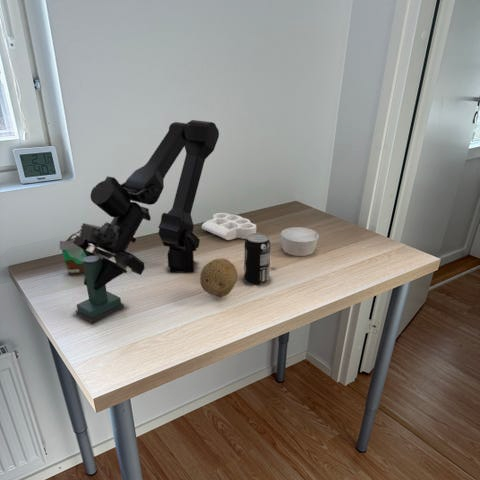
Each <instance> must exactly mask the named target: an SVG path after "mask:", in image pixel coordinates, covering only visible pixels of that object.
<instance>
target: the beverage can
mask: <svg viewBox="0 0 480 480" xmlns="http://www.w3.org/2000/svg"><path fill="white" fill-rule="evenodd" d="M246 238H247V239H245V241H244V255H243V256H244V259H243V260H244V261H243V262H244V264H243V279H244V280H245V281H246V282H247V283H249V284H251V285H255V286H256V285H263V284H265V283H267V282H268V281H269V279H270V270H271V269H270V268H271V267H270V266H271V265H270V264H271V245H272V243H271V241H270V236H269V235H268V234H266V233H261V232H256V233H252V234H249V235H247V237H246Z"/></svg>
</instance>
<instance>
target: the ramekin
mask: <svg viewBox="0 0 480 480" xmlns="http://www.w3.org/2000/svg"><path fill="white" fill-rule="evenodd" d="M280 238H281V246H282V250H283V251H284V253H285V254H287V255H290V256H293V257H307V256H310V255H312V254H313V253H314V252H315V250H316V248H317V243H318V241H319V238H320V235H319V233H318V232H317V231H315V230H313V229H311V228H307V227H301V226H300V227H297V226H296V227H287V228H285V229H282V231H281V232H280Z"/></svg>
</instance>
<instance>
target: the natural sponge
mask: <svg viewBox="0 0 480 480" xmlns="http://www.w3.org/2000/svg"><path fill="white" fill-rule="evenodd" d="M199 275H200V277H199V283H200V287H201V288H202V290H203V291H205V292H206V293H207V294H210V295H212V296H215V297H217V298H224V297H226V296H227V295H229V294H230V293H231V292H232V290H233V289H234V287H235V286H236V284H237V281H238V271H237V268H236V266H235V265H234V264H233V263H232V261H230V260H229V259H227V258H222V257H221V258H215V259H213V260H210V261H209V262H207V263H206V264H205V265H203V267H202V270H201V271H200V274H199Z"/></svg>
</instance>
